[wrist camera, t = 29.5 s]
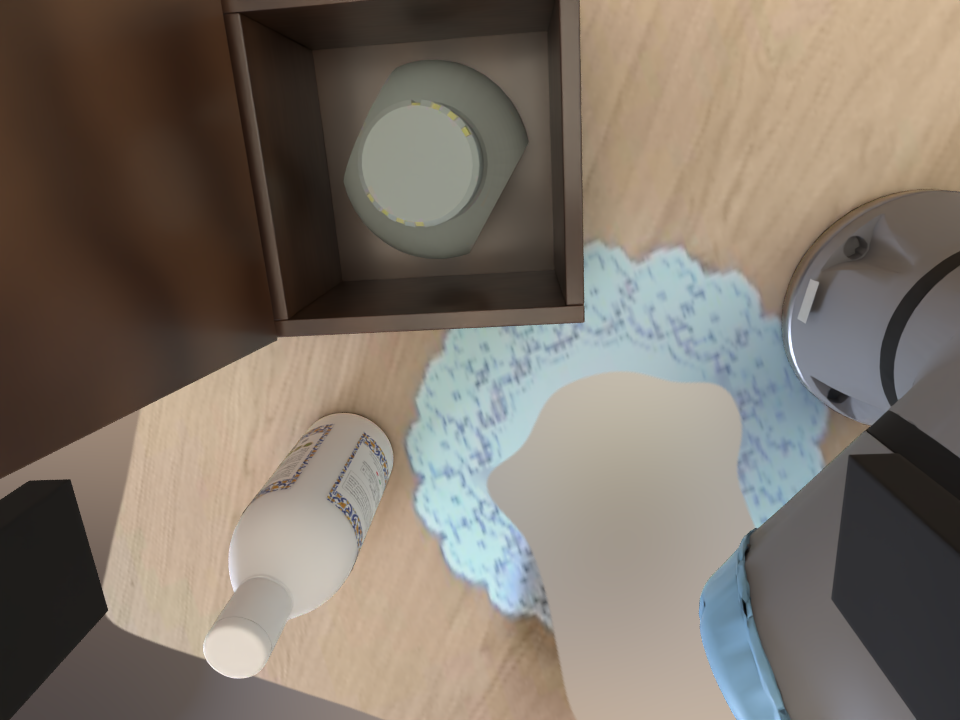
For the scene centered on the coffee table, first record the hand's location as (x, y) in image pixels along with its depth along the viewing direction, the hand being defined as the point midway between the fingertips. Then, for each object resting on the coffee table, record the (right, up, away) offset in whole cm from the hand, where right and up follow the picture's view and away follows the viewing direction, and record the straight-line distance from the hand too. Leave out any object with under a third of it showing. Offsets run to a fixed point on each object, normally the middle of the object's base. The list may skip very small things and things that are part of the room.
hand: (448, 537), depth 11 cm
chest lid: (-12, +9, +11) cm, 19 cm away
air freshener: (-2, +15, +29) cm, 33 cm away
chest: (-2, +15, +30) cm, 33 cm away
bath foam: (-9, -4, +36) cm, 38 cm away
